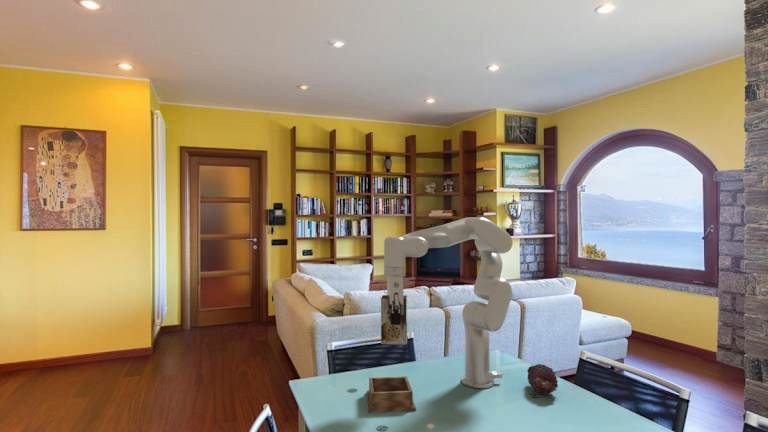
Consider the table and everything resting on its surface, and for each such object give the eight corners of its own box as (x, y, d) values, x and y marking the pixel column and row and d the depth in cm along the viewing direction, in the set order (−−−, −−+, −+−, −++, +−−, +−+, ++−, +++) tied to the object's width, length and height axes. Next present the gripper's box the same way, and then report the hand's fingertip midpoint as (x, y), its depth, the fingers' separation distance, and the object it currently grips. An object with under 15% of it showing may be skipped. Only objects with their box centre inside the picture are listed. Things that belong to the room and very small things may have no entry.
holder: (409, 391, 157) (409, 375, 157) (416, 410, 141) (416, 393, 141) (366, 393, 156) (366, 376, 156) (368, 412, 140) (368, 394, 140)
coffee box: (407, 340, 152) (407, 295, 152) (406, 345, 145) (406, 298, 146) (382, 339, 153) (382, 294, 153) (380, 344, 146) (380, 297, 146)
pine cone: (519, 383, 165) (519, 357, 165) (544, 382, 166) (544, 356, 166) (539, 402, 147) (538, 374, 147) (566, 401, 148) (566, 373, 148)
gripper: (408, 274, 141) (408, 327, 141) (401, 268, 158) (401, 316, 158) (386, 274, 140) (386, 328, 140) (381, 268, 158) (381, 316, 157)
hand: (394, 321), depth 149 cm, fingers closed on coffee box, 7 cm apart
